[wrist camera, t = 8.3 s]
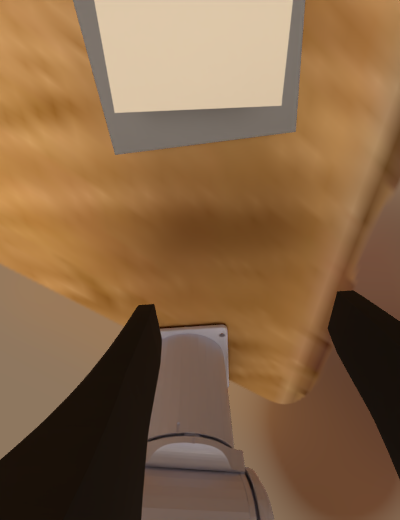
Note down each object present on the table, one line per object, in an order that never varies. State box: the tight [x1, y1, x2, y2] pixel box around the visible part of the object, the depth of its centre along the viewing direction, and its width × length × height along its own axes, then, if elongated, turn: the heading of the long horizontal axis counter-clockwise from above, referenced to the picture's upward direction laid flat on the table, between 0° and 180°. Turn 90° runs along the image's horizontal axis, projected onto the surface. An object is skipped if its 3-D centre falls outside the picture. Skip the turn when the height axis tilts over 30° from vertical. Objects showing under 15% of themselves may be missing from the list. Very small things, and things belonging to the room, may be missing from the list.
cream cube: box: [94, 0, 293, 113], centre depth 9 cm, size 5×5×5 cm
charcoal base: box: [73, 0, 305, 155], centre depth 12 cm, size 9×9×4 cm
